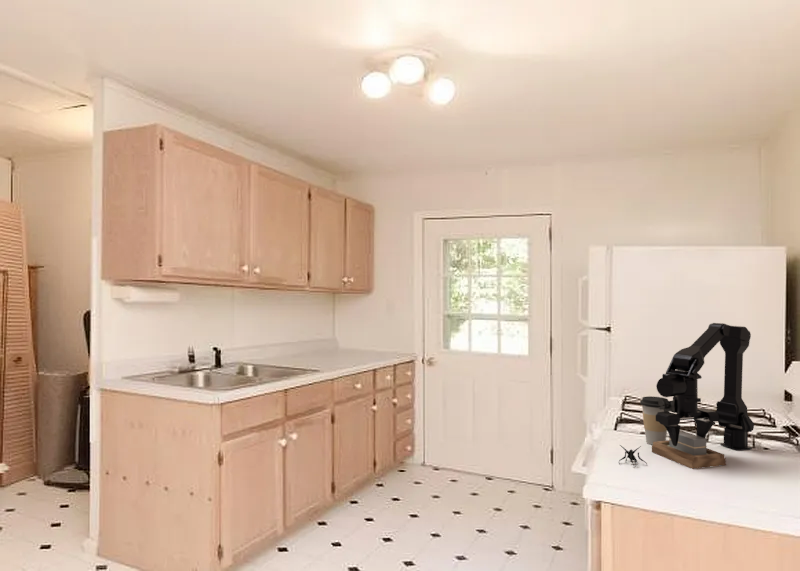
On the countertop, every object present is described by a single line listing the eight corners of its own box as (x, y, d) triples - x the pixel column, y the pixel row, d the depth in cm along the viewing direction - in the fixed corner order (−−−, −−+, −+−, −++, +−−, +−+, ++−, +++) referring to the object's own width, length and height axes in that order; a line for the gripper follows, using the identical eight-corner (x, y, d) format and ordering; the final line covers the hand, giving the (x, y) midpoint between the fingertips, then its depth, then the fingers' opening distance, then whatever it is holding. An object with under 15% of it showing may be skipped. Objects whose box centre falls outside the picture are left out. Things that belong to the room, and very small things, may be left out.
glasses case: (680, 445, 171) (680, 430, 171) (706, 455, 161) (706, 438, 161) (669, 447, 170) (669, 431, 170) (694, 456, 160) (694, 439, 160)
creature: (648, 472, 157) (643, 458, 164) (649, 456, 155) (644, 442, 163) (620, 470, 158) (616, 456, 166) (620, 454, 157) (616, 440, 165)
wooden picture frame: (682, 448, 175) (682, 439, 175) (725, 465, 159) (725, 454, 159) (651, 452, 172) (651, 442, 172) (692, 468, 156) (692, 457, 156)
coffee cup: (674, 448, 176) (674, 402, 176) (643, 446, 178) (643, 401, 178) (666, 440, 185) (666, 396, 185) (637, 438, 187) (637, 395, 187)
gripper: (691, 387, 176) (691, 435, 176) (642, 390, 171) (643, 439, 171) (719, 394, 165) (720, 445, 165) (669, 397, 160) (669, 450, 160)
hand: (687, 444), depth 166 cm, fingers open, 9 cm apart
